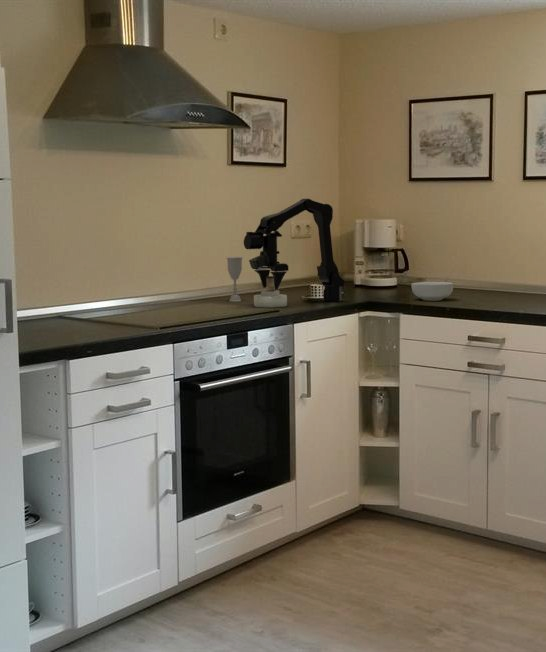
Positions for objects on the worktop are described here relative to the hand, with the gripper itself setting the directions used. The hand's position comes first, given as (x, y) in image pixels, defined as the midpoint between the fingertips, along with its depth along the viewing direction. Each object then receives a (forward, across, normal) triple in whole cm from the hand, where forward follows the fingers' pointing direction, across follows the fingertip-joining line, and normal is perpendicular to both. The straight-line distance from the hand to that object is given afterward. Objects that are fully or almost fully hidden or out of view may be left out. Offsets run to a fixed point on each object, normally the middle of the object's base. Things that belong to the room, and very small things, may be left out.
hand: (270, 288), depth 377 cm
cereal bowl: (+7, +19, +66) cm, 69 cm away
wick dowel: (+3, 0, 0) cm, 3 cm away
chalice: (+7, -26, -2) cm, 27 cm away
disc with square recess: (+7, 0, 0) cm, 7 cm away
